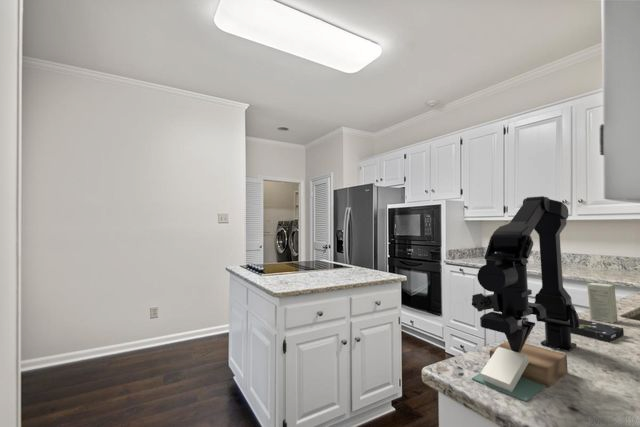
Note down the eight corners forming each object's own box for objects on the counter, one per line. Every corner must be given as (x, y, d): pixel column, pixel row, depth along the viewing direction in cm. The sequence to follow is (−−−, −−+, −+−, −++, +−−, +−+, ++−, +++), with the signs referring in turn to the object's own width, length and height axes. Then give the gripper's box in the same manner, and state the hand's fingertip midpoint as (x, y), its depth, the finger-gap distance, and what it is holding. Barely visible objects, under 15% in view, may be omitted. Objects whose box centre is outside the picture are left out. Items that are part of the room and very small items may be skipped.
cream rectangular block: (500, 353, 73) (498, 346, 73) (528, 362, 68) (526, 355, 68) (482, 380, 68) (480, 373, 68) (511, 392, 64) (509, 384, 63)
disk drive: (624, 337, 92) (565, 323, 105) (624, 328, 92) (565, 315, 105) (609, 345, 87) (550, 329, 100) (609, 335, 87) (549, 320, 100)
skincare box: (618, 321, 104) (616, 284, 104) (613, 323, 102) (611, 286, 102) (593, 316, 110) (591, 281, 110) (588, 318, 107) (586, 283, 108)
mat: (492, 367, 75) (492, 366, 75) (545, 386, 66) (545, 385, 66) (471, 379, 70) (471, 377, 70) (526, 401, 61) (526, 400, 61)
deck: (511, 354, 81) (511, 339, 81) (567, 372, 71) (566, 354, 72) (490, 366, 75) (489, 350, 75) (548, 387, 65) (547, 368, 65)
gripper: (496, 275, 83) (499, 334, 82) (456, 285, 72) (459, 353, 72) (545, 281, 73) (548, 347, 73) (507, 293, 63) (510, 371, 62)
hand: (516, 353), depth 70 cm, fingers closed
